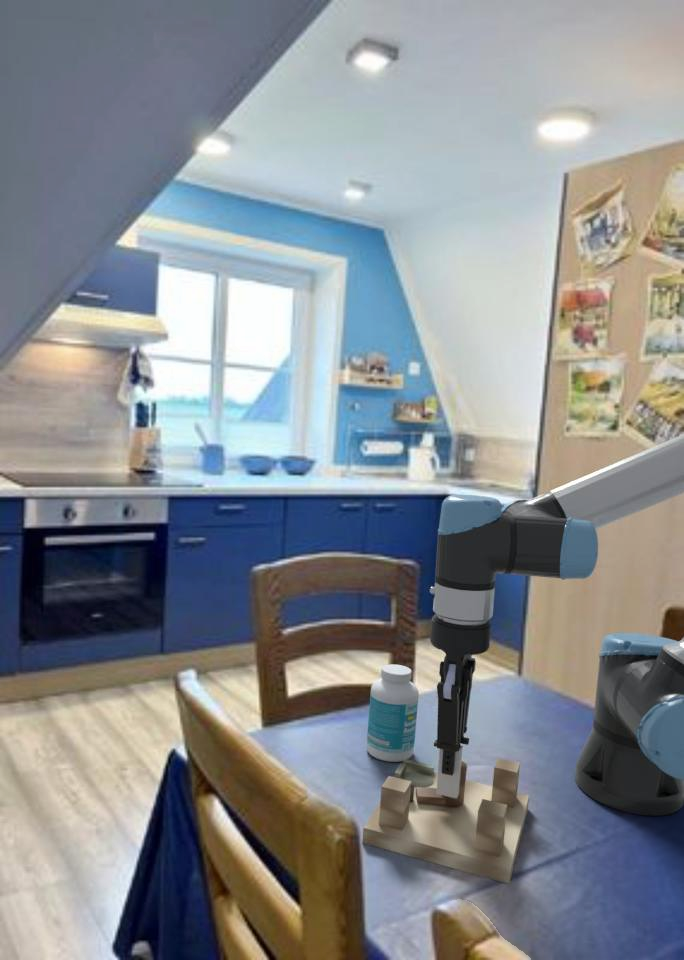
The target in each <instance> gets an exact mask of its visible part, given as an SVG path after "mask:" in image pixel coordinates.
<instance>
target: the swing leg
mask: <svg viewBox="0 0 684 960" xmlns="http://www.w3.org/2000/svg"><path fill="white" fill-rule="evenodd" d="M467 770H468V765H467V763H466V762H464V761H463V760H462V761H461V774H460V786H459V795H458V797H457V799H456V798H452V797H448V796H443V795H439V794H436V790H437V788H425V787H416V799H417V803H430V804H445V805H447V806H452V807H458V806H461V805H462V804H463V803H464V793H465V782H466V780H467V779H466V778H467Z"/></svg>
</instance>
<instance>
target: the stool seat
mask: <svg viewBox="0 0 684 960" xmlns="http://www.w3.org/2000/svg"><path fill="white" fill-rule="evenodd" d="M520 767H521V762H518V761H515V760H514V761H513V760H511V759H510V760H508V759H504V758H500V757H497V759H496V762H495V765H494V767H493V768H494V769H493V776H492V777H493V778H492V785H488V784H483V783H479V782H475V781H471V780H467V779H466V782H465V793H464V803H463V804H462V805H461V806H458V807H452V806H447V805H445V804H430V803H417V799H416V787H425V788H437V778H438V772H435V769H436V767H435V765H432V764H427V763H424V762H419V761H415V760H411V759H405V760H404V761H402V762H401V763H399V766H398V767H397V769H396V770H395V772H394V775H393V776H390V775H388V776H387V777H386V780H385V781H383V784H382V785H381V791H380V800H379V802H378V804H377V805H376V807H375V809H374V811H373V812H372V814H371V815H370V816H369V818H368V820H367V821H366V823H365V825H364V826H363V829H362V840H361V841H362V842H361V843H362V844H366V845H369V846H373V847H375V848H376V847H377V848H379V849H382V850H385V851H386V850H387V851H390V852H393V853H397V854H401V855H405V856H408V857H412V858H415V859H419V860H422V861H426V862H429V863H432V864H433V863H434V864H437V865H441V866H442V867H443V866H444V867H446V868H447V867H448V868H450V869H451V868H452V869H455V870H459V871H461V872H465V873H469V874H473V875H476V876H480V877H483V878H486V879H490V880H495V881H498V882H500V883H505V884H508V885H510V882H511V878H512V874H513V869H514V865H515V863H516V862H515V861H516V858H517V853H518V850H519V846H520V841H521V838H522V835H523V834H522V833H523V830H524V825H525V822H526V817H527V814H528V809H529V802H530V801H529V800H530V794H525V793H521V792H518V789H519V788H518V787H519V778H520V769H521V768H520Z"/></svg>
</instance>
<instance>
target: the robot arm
mask: <svg viewBox="0 0 684 960" xmlns="http://www.w3.org/2000/svg"><path fill="white" fill-rule="evenodd" d="M682 494H684V433H682V434H681V435H678V436H676V437H673V438H672V439H669V440H667V441H664V442H662V443H660V444H657V445H655V446H652V447H650V448H648V449H646V450H643V451H640V452H638V453H636V454H634V455H631V456H628V457H627V458H624V459H622V460H620V461H617V462H615V463H612V464H611V465H608V466H606V467H603V468H601V469H599V470H596V471H594V472H592V473H589V474H587V475H585V476H582V477H580V478H578V479H575V480H572V481H570V482H569V483H566V484H564V485H561V486H559V487H556V488H553V489H551V490H549V491H548V492H545V493H542V494H540V495H537V496H535V497H533V498H530V499H515V500H512V501H510V502H508V503H506V504H505V505H503V506H502V503H501V501H500V500H499V499H497V498H495V497H489V496H483V495H482V496H481V495H475V494H474V495H473V494H453V495H449V496H446V497H445V498H444V500H443V501H442V503H441V508H440V514H439V515H440V517H439V523H438V524H439V525H438V528H437V543H436V562H435V572H434V573H435V576H434V581H435V582H434V586H431V587H430V589H429V593H430V594H431V595H434V598H433V604H432V605H433V607H432V610H433V612H434V613H435V614H433V615H432V617H431V623H430V639H429V640H430V643H431V645H432V646H433V647H434V648H436V649H438V650H441V651H442V652H444V654H445V656H444V659H443V661H440V664H439V671H438V673H439V677H440V681H438V682H437V684H436V690H437V691H436V692H437V693H436V694H437V731H436V734H437V736H436V738H437V739H435V741H433V742H434V743H433V747H436V748H437V749H439V755H438V766H437V774H438V778H437V790H436V794H439V795H443V796H448V797H452V798H456V799H457V797H458V795H459V786H460V774H461V761H463V747H464V746H463V745H467V746H468V745H469V742H470V738H469V737H464V736H465V734H467V733H466V732H467V731H468V718H469V716H468V715H469V708H470V699H471V693H472V688H473V676H474V673H475V671H476V663H477V662H476V658H475V657H472V656H476V655H481V654H484V653H486V652H487V651H488V650H489V648H490V646H491V645H490V643H491V635H492V623H491V622H490V619H492V617H493V615H494V613H493V612H494V601H495V589H496V587H495V585H496V584H495V583H496V575H497V574H500V575H501V574H503V575H514V576H515V575H516V576H528V577H543V578H551V579H552V578H554V579H561V580H563V581H565V580H567V579H568V580H569V579H571V580H574V579H577V580H578V579H587V578H589V577H590V576H591V575H592V574H593V572H594V570H595V568H596V566H597V561H598V556H599V539H598V534H597V530H598V529H601V528H602V527H605V526H607V525H609V524H613V523H614V522H617V521H620V520H623V519H624V518H625V519H626V518H627V517H629V516H632V515H634V514H636V513H638V512H641V511H643V510H646V509H648V508H651V507H653V506H656V505H659V504H660V503H662V502H666V501H668V500H671V499H672V498H675V497H677V496H679V495H682ZM598 658H599V663H598V673H597V680H596V689H595V690H596V692H595V701H594V709H593V710H594V712H593V722H592V729H591V731H590V734H589V736H588V738H587V740H585V741H586V742H585V744H584V746H583V748H582V750H581V752H580V754H579V756H578V758H577V760H576V763H575V771H574V772H575V773H574V779H575V780H574V781H575V784H576V785H577V786H578V787H579V789H581V791H582V792H583V793H585V794H586V795H587V796H589V797H591V798H592V799H593V800H595V801H597V802H599V803H601V804H603V805H605V806H607V807H610V808H612V809H616V810H619V811H622V812H625V813H631V814H636V815H643V816H667V815H670V814H674V813H676V812H678V811H679V810H681V809H682V807H683V805H684V636H683V637H682V639H681V640H679V641H678V640H675V639H671V638H667V637H664V636H656V635H651V634H645V633H644V634H643V633H632V632H616V633H610V634H608V635H606V636H605V637H604V638H603V640H602V643H601V649H600V653H599V654H598Z"/></svg>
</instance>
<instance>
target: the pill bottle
mask: <svg viewBox="0 0 684 960" xmlns="http://www.w3.org/2000/svg"><path fill="white" fill-rule="evenodd" d="M380 677H381V678H378V679H376V680H375V681H374V682H373V683H372V685H371V687H370V694H369V695H370V698H369V711H368V712H369V713H368V722H367V732H366V733H367V734H366V751H367V752H368V753H369V754H370V756H372V757H373V758H375V759H377V760H380V761H383V762H392V763H395V762H396V763H397V762H404V760H405V759H407V760H410V758H411V757H412V756H413V755H414V752H415V741H416V729H417V715H418V706H419V696H420V695H419V689H418V687H417V686H416V685H415V683H413V682H412V681H411V679H412V669H411V668H409V667H408V666H405V665H401V664H395V663H394V664H392V663H391V664H385V665H383V666H382V667H381V671H380Z"/></svg>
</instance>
